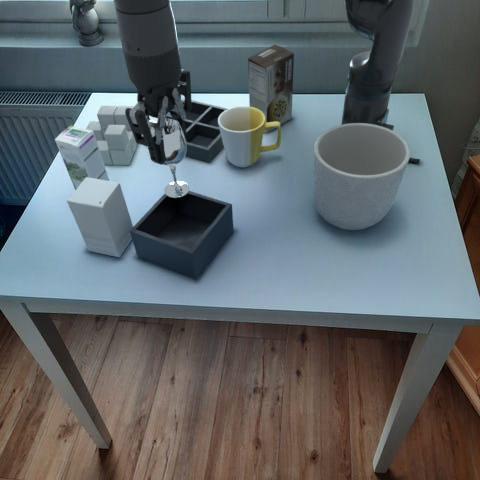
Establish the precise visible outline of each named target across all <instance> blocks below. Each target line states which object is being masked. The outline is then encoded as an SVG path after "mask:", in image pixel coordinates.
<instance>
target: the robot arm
mask: <svg viewBox="0 0 480 480" xmlns="http://www.w3.org/2000/svg"><path fill="white" fill-rule="evenodd" d="M113 4H114V9H115V14H116V15H115V17H116V24H117V25H116V26H117V30H118V35H119V39H120V44H121V47H122V48H121V49H122V52H123V56H124V60H125V61H124V62H125V65H126V69H127V73H128V78H129V80H130V82H131V83H132V85H134V87H135V88H136V93H137V96H136V101H137V103H136V104H135V105H134V106H133V107H134V108H133V109H132V108H126V110H125V115H126V117H127V120H128V123H129V125H130V128H131V130H132V133H133V135H134V138H135V141H136V143H137V145H141V146H145V147H147V149H148V153H149V157H150V160H151V162H152V163H154V164H158V165H161V166H162V165H163V164H164V163H165V161H166V160H165V155H164V150H163V145H162V142H161V135H162V129H163V128H164V127H165V118H166V115H167V113H168V114H169V115H170V117H172V119H174V120H176V121H178V122H179V124H180V126H181V128H182V130H183V133H184V136H185V140H186V141H187V138H186V128H185V121H184V120H185V119H186V112H187V111H191V108H192V103H191V100H192V83H191V81H192V80H191V71H189V70H186V69H182V68H183V67H182V61H181V55H180V49H179V41H178V40H179V39H178V35H177V28H176V21H175V17H174V12H173V8H172V3H171V0H113ZM344 6H345V7H344V8H345V13H346V19H347V22H348V25H349V27H350V29H351V30H352V31H353V32H354V33H356V34H357V35H359V36H361V37H363V38H364V39H367V40H369V41H372V43H371V47H370V50H368V51H363V52H360V53H358V54H356V55H354V56H353V57H352V58H351V60H350V62H349V65H348V73H347V78H346V79H347V80H346V87H345V94H344V102H343V108H342V115H341V121H340V122H341V123H340V125H343V124H350V123H367V124H374V125H378V126H382V127H385V128H387V129H390V130H392V131H394V127H395V125H394V124H389V123H387V121H388V117H389V112H390V108H388V107H389V104H390V103H389V102H390V97H391V93H392V88H393V85H394V84H393V83H394V79H395V74H396V72H397V69H398V67H399V65H400V63H401V61H402V58H403V55H404V50H405V47H406V43H407V39H408V36H409V32H410V29H411V25H412V21H413V16H414V12H415V0H344ZM182 96H183V97H184V98H185V102H182ZM150 117H151V118H153V119H151V118H150ZM154 119H157V120H154ZM151 127H153V128H154V129H155V133H154V135H152V134H151ZM420 162H421V158H412V157H410V158H409V161H408V163H413V164H419V163H420Z"/></svg>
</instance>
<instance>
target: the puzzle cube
mask: <svg viewBox="0 0 480 480" xmlns="http://www.w3.org/2000/svg"><path fill="white" fill-rule="evenodd" d="M134 107H135V106H133V105H100V108H99V110H98V111H97V113H96V117H97V120H98V121H89V122H88V124H87V126H86V128H85V129H88V130H92V131H93V132H94V135H95V138H96V141H97V144H98V147H99V150H100V153H101V156H102V159H103V162H104V165H105V166H106V165H109V166H112V165H114V166H130V165H131V161H132V159H133V156H134V153H135V152H136V149H137V145H138V144H137V143H136V141H135V138H134V135H133V133H132V130H131V128H130V125H129V123H128V120H127V117H126V115H125V110H126V108H132V109H133V108H134Z"/></svg>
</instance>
